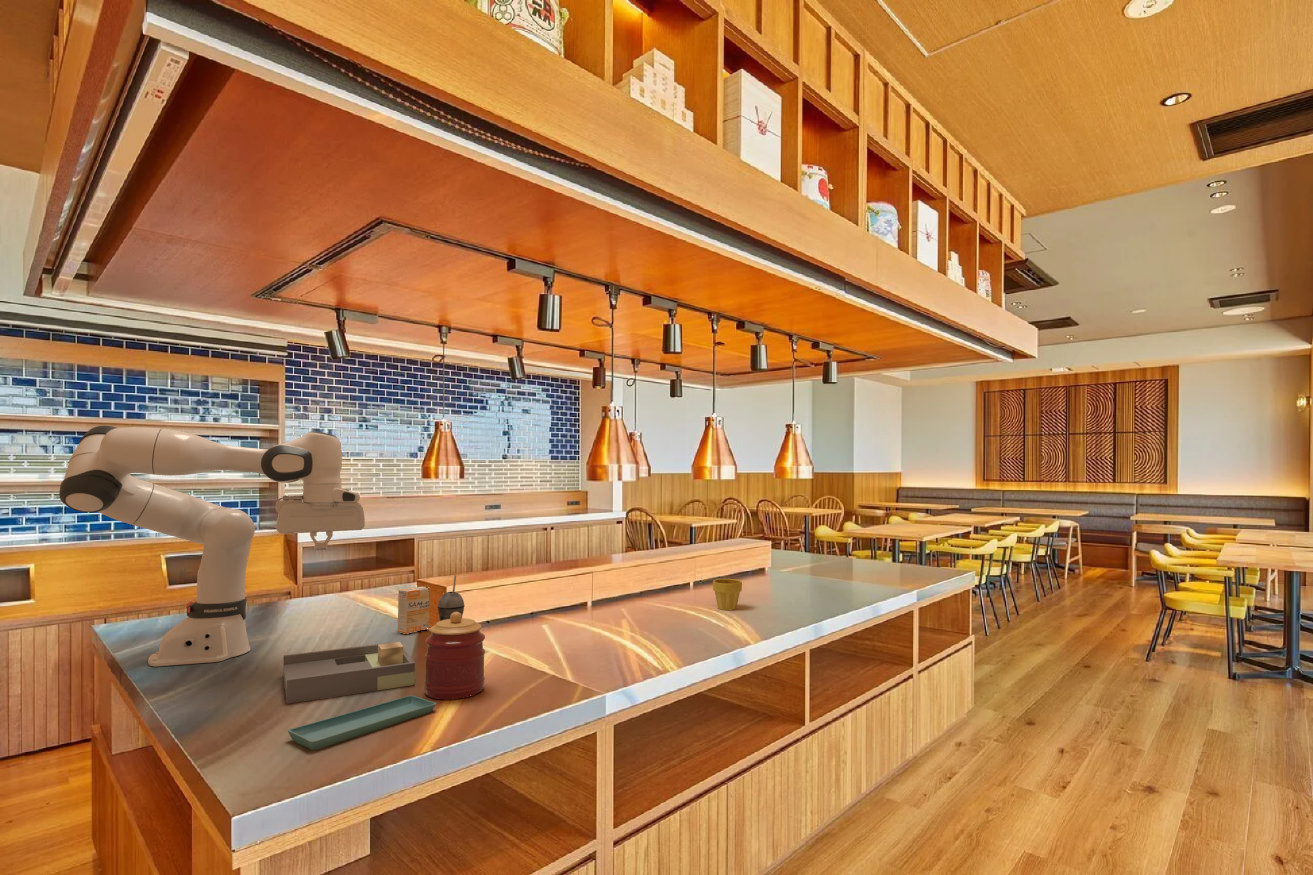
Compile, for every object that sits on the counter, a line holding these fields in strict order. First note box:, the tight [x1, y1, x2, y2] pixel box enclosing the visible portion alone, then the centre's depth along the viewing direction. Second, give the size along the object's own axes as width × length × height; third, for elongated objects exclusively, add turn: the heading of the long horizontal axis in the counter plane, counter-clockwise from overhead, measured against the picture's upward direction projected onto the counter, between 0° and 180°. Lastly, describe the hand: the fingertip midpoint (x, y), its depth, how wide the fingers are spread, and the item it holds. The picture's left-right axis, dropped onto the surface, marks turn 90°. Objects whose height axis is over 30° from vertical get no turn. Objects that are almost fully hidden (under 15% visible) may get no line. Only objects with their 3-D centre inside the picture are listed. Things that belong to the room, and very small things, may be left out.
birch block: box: [377, 641, 404, 666], centre depth 166 cm, size 5×5×4 cm
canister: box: [424, 612, 486, 701], centre depth 155 cm, size 13×13×18 cm
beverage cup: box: [437, 574, 465, 621], centre depth 191 cm, size 7×7×20 cm
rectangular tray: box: [287, 694, 437, 751], centre depth 134 cm, size 26×9×2 cm, turn 144°
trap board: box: [282, 641, 416, 705], centre depth 162 cm, size 26×22×5 cm
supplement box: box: [397, 586, 430, 634], centre depth 210 cm, size 8×5×13 cm, turn 143°
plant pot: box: [712, 578, 743, 611], centre depth 246 cm, size 10×10×10 cm
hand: (321, 549), depth 175 cm, fingers closed
